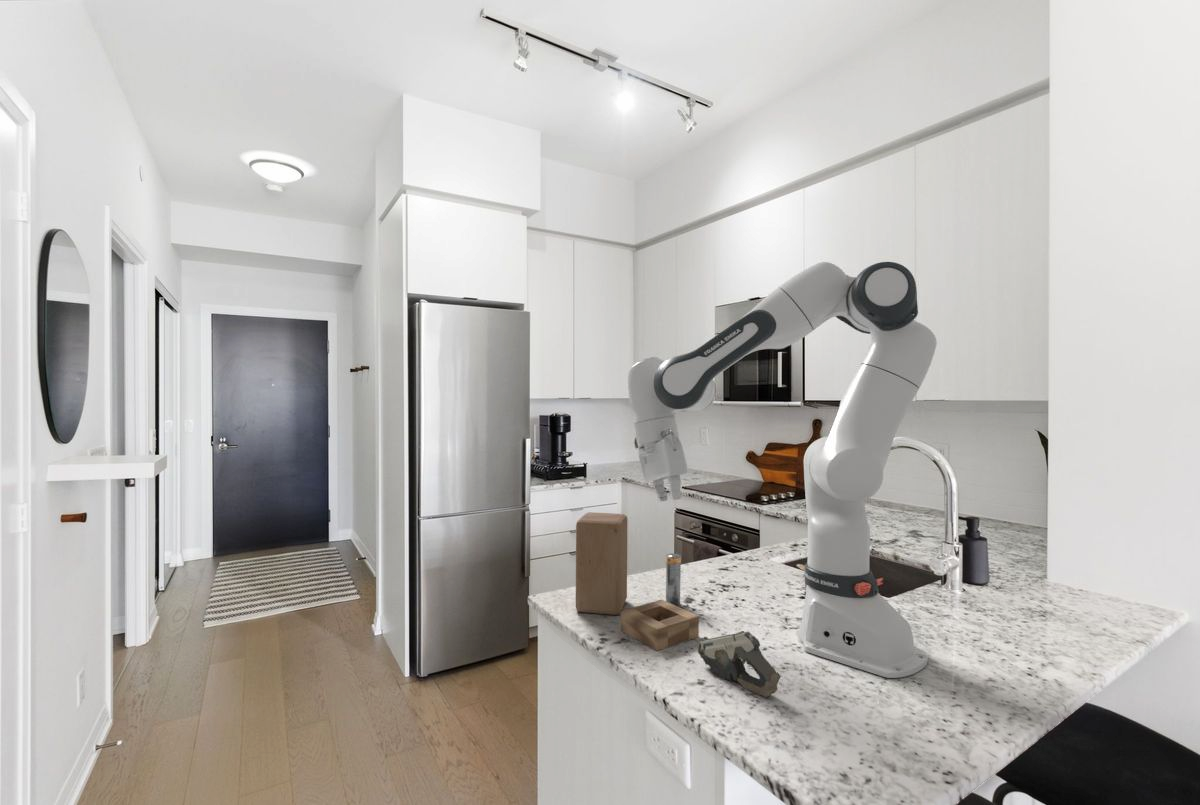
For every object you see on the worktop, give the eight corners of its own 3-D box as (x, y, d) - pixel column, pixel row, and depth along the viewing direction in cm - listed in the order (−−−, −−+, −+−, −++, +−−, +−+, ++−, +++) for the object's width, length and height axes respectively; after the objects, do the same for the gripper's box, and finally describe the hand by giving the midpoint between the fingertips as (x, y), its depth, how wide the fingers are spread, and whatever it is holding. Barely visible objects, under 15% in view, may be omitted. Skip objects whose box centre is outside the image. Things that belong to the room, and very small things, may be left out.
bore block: (698, 636, 113) (698, 616, 113) (657, 650, 106) (657, 629, 106) (661, 618, 122) (661, 599, 121) (621, 630, 115) (621, 610, 115)
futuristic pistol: (719, 697, 100) (700, 637, 103) (786, 690, 90) (763, 624, 93) (709, 701, 99) (690, 640, 102) (777, 696, 88) (753, 628, 91)
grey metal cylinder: (683, 604, 129) (684, 556, 129) (672, 607, 127) (673, 558, 127) (673, 600, 132) (673, 552, 132) (662, 603, 130) (663, 554, 130)
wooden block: (620, 617, 122) (621, 523, 122) (574, 613, 124) (574, 520, 124) (627, 600, 132) (628, 513, 131) (584, 596, 134) (585, 511, 133)
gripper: (686, 424, 112) (700, 495, 110) (658, 439, 132) (669, 499, 130) (656, 429, 111) (669, 501, 109) (632, 443, 131) (643, 504, 129)
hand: (669, 500), depth 119 cm, fingers open, 8 cm apart
